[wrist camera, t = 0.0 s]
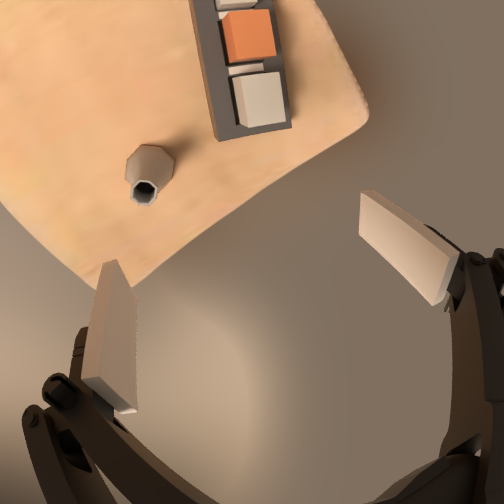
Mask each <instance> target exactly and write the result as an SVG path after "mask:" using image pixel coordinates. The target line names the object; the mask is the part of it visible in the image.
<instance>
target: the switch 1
mask: <svg viewBox="0 0 504 504" xmlns="http://www.w3.org/2000/svg"><path fill="white" fill-rule="evenodd" d="M257 2H258V1H257V0H214V6H215V11H216V12H217V11H225V10H236V9H249V8H251V7H252V6H254V5H255V4H256V3H257Z"/></svg>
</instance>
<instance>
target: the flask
mask: <svg viewBox="0 0 504 504" xmlns="http://www.w3.org/2000/svg"><path fill="white" fill-rule="evenodd" d="M174 162H175V160H174V159H173V158H172V157H171V156H170V155H169V154H168V153H167V152H166V151H165V150H163V149H162V148H161V147H157V146H146V145H140V146H139V147H138V148H137V149H136V151H135V152H134V153H133V154H132V155H131V156H130V157H129V158H128V159H127V164H126V174H125V180H126V181H128V182H129V183H130V184H131V185H132V186H131V195H130V198H131V199H132V200H133V201H134V202H135V203H137V204H138V205H144V206H150V205H151V204H152V203H153V202H154V201H155V199H156V198H157V193H159V192H160V191H161V190H162V189H163V188H164V186H165V185H166V184H167V183H168V182H169V181H170V180H171V179H172V174H173V168H174Z"/></svg>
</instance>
